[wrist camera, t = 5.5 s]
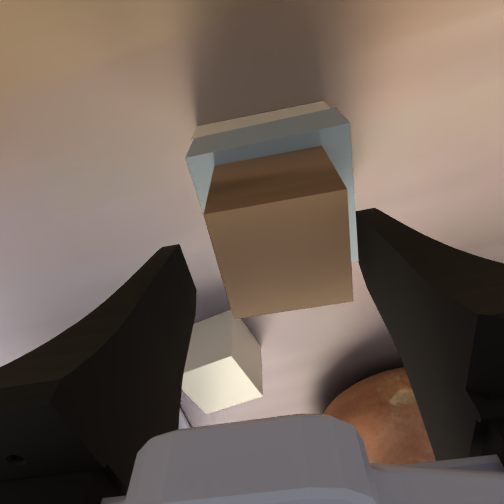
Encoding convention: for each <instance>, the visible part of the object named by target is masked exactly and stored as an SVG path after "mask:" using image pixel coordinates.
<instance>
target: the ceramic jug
mask: <svg viewBox="0 0 504 504" xmlns="http://www.w3.org/2000/svg"><path fill="white" fill-rule="evenodd" d="M323 414H328V415H330V416H332V417H335V418H337V419H340V420H342V421H344V422H347V423H349V424H351V425H353V426H355V428H356V430H357V431H358V433H359V434H360V436H361V438H362V439H363V441H364V444H365V448H366V452H367V456H368V459H369V463H383V464H397V465H405V464H414V463H423V462H432V461H436V460H435V456H434V453H433V450H432V447H431V444H430V441H429V438H428V435H427V432H426V429H425V426H424V423H423V420H422V417H421V414H420V411H419V408H418V405H417V402H416V399H415V396H414V393H413V390H412V388H411V385H410V382H409V379H408V376H407V374H406V371H405V368H404V367H402V368H397V369H392V370H387V371H384V372H381V373H378V374H375V375H373V376H370V377H368V378H365V379H363V380H361V381H359V382H357V383H355V384H354V385H352V386H351V387H349V388H348V389H346V390H345V391H343V392H342V393H341V394H339V395H338V396H337V397H336V398H335V399H334V400H333V401H332V402H331V403H330V404H329V405H328V406H327V408H326V409H325V411H324V412H323Z"/></svg>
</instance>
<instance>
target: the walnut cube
mask: <svg viewBox="0 0 504 504" xmlns="http://www.w3.org/2000/svg"><path fill="white" fill-rule="evenodd" d="M203 215H204V218H205V222H206V225H207V229H208V232H209V235H210V239H211V242H212V246H213V249H214V253H215V256H216V260H217V263H218V266H219V270H220V273H221V277H222V280H223V284H224V287H225V291H226V294H227V297H228V301H229V304H230V308H231V311H232V315H233V318H234V319H238V318H245V317H252V316H258V315H265V314H272V313H278V312H285V311H292V310H298V309H305V308H312V307H318V306H325V305H332V304H339V303H345V302H352V301H353V286H352V268H351V249H350V230H349V212H348V193H347V188H346V186H345V184H344V183H343V181H342V179H341V177H340V176H339V174H338V172H337V171H336V169H335V167H334V165H333V164H332V162H331V160H330V159H329V157H328V155H327V153H326V152H325V150H324V148H323V147H322V146H317V147H312V148H307V149H301V150H296V151H291V152H285V153H280V154H275V155H270V156H264V157H259V158H254V159H248V160H243V161H238V162H233V163H227V164H222V165H217V166H214V169H213V174H212V178H211V183H210V187H209V192H208V196H207V201H206V205H205V210H204V214H203Z"/></svg>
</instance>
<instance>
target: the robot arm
mask: <svg viewBox="0 0 504 504" xmlns="http://www.w3.org/2000/svg"><path fill="white" fill-rule="evenodd" d="M355 212H356V228H357V244H358V260H359V265H360V268H361V271H362V274H363V277H364V280H365V283H366V286H367V288H368V290H369V293H370V295H371V297H372V299H373V301H374V303H375V305H376V307H377V309H378V311H379V313H380V315H381V317H382V319H383V321H384V323H385V325H386V327H387V329H388V330H389V332H390V334H391V336H392V338H393V341H394V343H395V345H396V347H397V350H398V352H399V355H400V357H401V360H402V363H403V365H404V368H405V371H406V374H407V376H408V379H409V382H410V385H411V388H412V390H413V393H414V396H415V399H416V402H417V405H418V408H419V411H420V414H421V417H422V420H423V423H424V426H425V429H426V432H427V435H428V438H429V441H430V444H431V447H432V450H433V453H434V456H435V460H436V461H432V462H423V463H414V464H405V465H397V464H383V463H369V459H368V456H367V452H366V448H365V444H364V441H363V439H362V438H361V436H360V434H359V433H358V431H357V430H356V428H355V426H353V425H351V424H349V423H347V422H344V421H342V420H340V419H337V418H335V417H332V416H330V415H328V414H294V415H286V416H278V417H271V418H263V419H255V420H247V421H240V422H232V423H224V424H217V425H209V426H201V427H193V428H190V426H189V424H188V422H187V420H186V418H185V416H184V414H183V412H182V411H181V409H180V401H181V390H182V380H183V374H184V368H185V363H186V358H187V354H188V349H189V344H190V339H191V334H192V329H193V324H194V319H195V311H196V288H195V285H194V282H193V280H192V277H191V274H190V272H189V269H188V266H187V264H186V261H185V258H184V256H183V253H182V250H181V247H180V245H179V244H177V245H172V246H166V247H162V248H161V249H160V250H158V251H157V252H156V253H155V254H154V255H153V256H152V257H151V258H150V259H149V260H148V261H147V262H146V263H145V264H144V265H143V266H142V267H141V268H140V269H139V270H138V271H137V272H136V273H135V274H134V275H133V276H132V277H131V278H130V279H129V280H128V281H127V282H126V283H125V284H124V285H122V286H121V287H120V288H119V289H118V290H117V291H116V292H115V293H114V294H113V295H111V296H110V297H109V298H108V299H107V300H106V301H105V302H104V303H102V304H101V305H100V306H99V307H97V308H96V309H95V310H94V311H92V312H91V313H90V314H88V315H87V316H86V317H84V318H83V319H82V320H80V321H79V322H77V323H76V324H74V325H73V326H71V327H70V328H68V329H67V330H65V331H64V332H62V333H61V334H59V335H58V336H56V337H55V338H53V339H51V340H50V341H48V342H47V343H45V344H43V345H41V346H40V347H38V348H36V349H34V350H33V351H31V352H29V353H27V354H25V355H23V356H22V357H20V358H18V359H16V360H14V361H12V362H10V363H8V364H6V365H4V366H2V367H0V504H504V264H503V263H499V262H496V261H492V260H488V259H485V258H482V257H478V256H475V255H472V254H469V253H467V252H464V251H461V250H458V249H455V248H453V247H450V246H448V245H445V244H443V243H441V242H439V241H436V240H434V239H432V238H430V237H428V236H425V235H423V234H421V233H419V232H417V231H416V230H414V229H412V228H410V227H408V226H406V225H404V224H403V223H401V222H399V221H397V220H395V219H394V218H392V217H390V216H389V215H387V214H385V213H383V212H382V211H380V210H378V209H376V208H372V209H366V210H361V211H355Z"/></svg>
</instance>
